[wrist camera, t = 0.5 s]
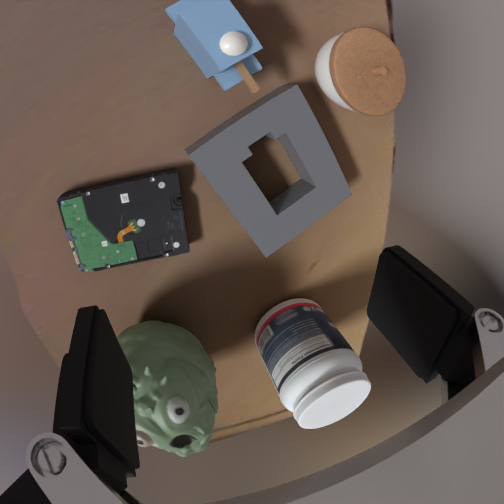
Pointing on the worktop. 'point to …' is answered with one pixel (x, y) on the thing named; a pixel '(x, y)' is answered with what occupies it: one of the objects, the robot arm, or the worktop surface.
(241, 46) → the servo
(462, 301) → the robot arm
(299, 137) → the plate
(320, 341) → the supplement tub
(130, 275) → the worktop surface
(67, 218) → the disk drive
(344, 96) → the lidded jar
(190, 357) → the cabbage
